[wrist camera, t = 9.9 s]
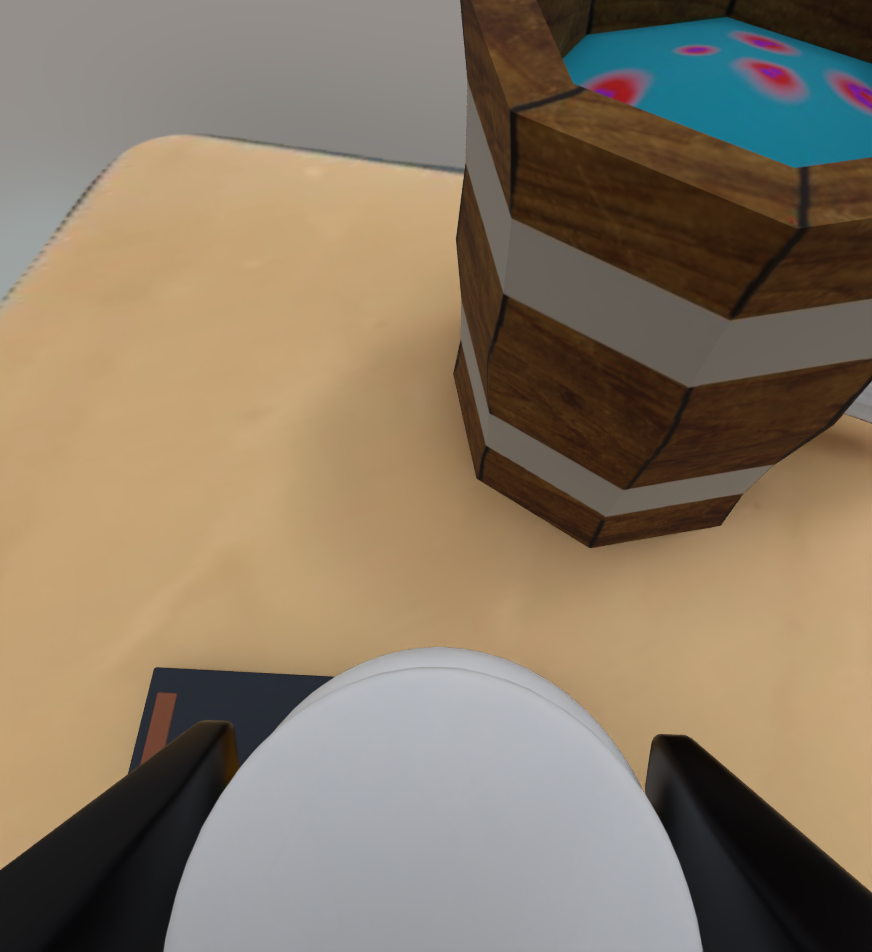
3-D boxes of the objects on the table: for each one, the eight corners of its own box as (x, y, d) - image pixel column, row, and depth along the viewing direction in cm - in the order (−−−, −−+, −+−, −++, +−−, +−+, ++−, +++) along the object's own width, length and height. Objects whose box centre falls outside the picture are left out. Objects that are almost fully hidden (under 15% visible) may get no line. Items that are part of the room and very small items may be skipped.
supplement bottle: (286, 766, 14) (-7, 756, 5) (495, 660, 15) (559, 492, 6) (380, 1048, 11) (143, 1943, 3) (619, 902, 12) (1016, 1214, 4)
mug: (417, 512, 23) (370, 171, 10) (482, 261, 29) (509, -174, 16) (955, 622, 21) (1852, 371, 8) (912, 326, 27) (1382, -119, 13)
